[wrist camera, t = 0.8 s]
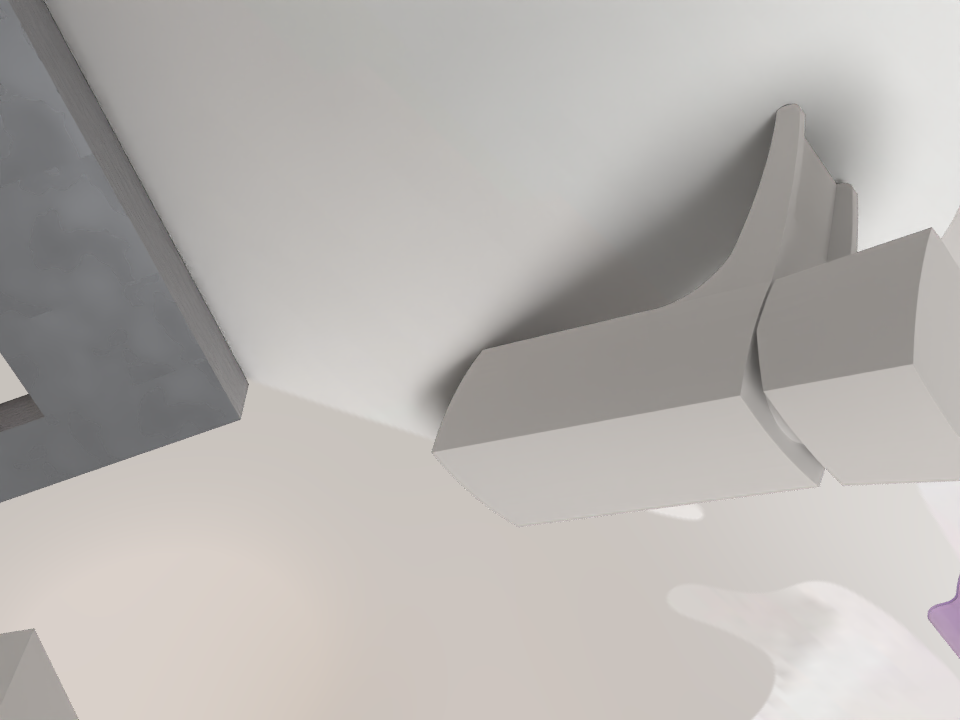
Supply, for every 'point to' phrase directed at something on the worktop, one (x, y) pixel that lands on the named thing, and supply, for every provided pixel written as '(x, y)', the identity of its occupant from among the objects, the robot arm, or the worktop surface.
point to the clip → (948, 620)
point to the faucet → (732, 372)
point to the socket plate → (89, 283)
